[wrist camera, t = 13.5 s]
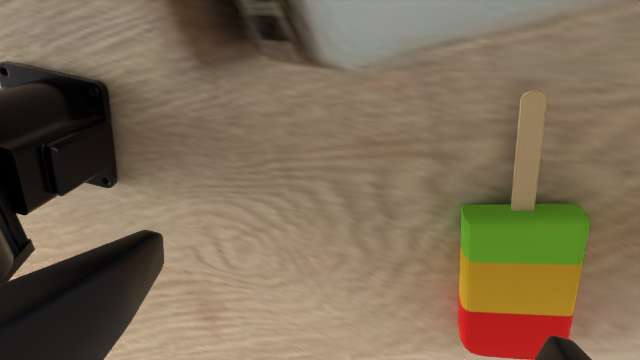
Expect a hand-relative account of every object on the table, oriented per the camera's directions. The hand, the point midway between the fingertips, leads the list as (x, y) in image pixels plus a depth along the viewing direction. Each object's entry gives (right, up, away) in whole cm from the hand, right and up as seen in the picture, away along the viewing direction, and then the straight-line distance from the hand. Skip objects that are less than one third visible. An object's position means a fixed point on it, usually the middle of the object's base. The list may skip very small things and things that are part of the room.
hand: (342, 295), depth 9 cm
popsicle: (+10, 0, +12) cm, 15 cm away
